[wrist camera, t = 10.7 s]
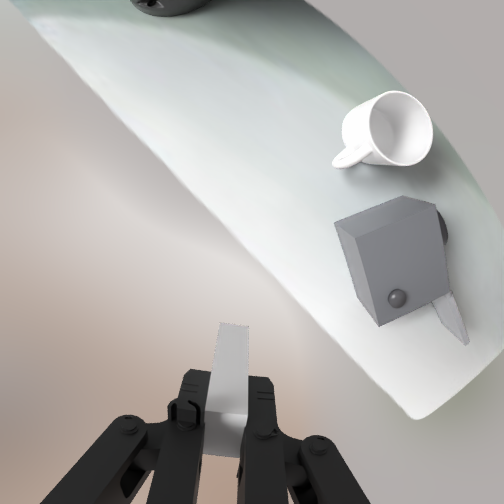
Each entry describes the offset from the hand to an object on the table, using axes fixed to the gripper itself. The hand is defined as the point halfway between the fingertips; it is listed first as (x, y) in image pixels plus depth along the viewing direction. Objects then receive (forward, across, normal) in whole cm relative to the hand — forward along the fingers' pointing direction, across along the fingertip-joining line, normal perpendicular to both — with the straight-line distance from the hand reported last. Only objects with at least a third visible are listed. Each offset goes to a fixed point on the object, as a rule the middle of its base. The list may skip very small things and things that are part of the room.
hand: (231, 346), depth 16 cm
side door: (+26, +32, -6) cm, 42 cm away
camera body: (+26, +21, +1) cm, 34 cm away
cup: (+27, +14, +15) cm, 33 cm away
